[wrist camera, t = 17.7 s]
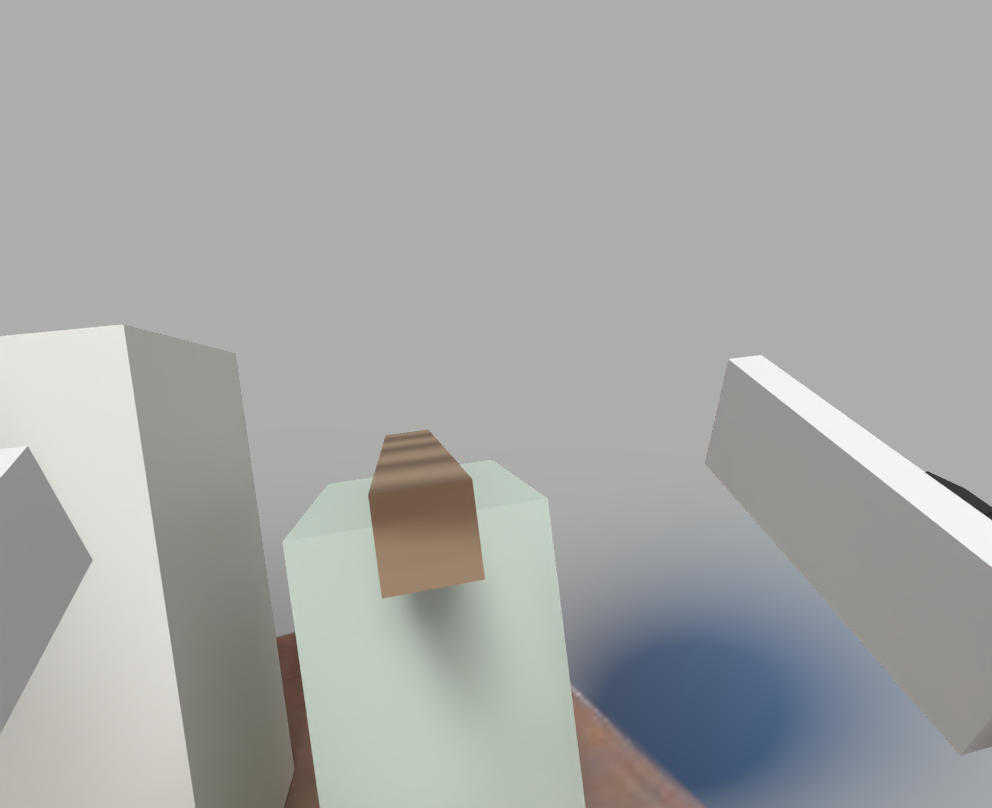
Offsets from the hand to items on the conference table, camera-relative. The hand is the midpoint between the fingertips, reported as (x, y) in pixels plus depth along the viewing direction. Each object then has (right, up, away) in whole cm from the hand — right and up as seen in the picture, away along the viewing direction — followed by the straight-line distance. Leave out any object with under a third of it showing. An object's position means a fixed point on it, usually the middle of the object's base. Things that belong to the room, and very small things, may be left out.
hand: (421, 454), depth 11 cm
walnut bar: (-2, -4, +17) cm, 17 cm away
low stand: (-1, -24, +23) cm, 33 cm away
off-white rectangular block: (-17, -26, +20) cm, 37 cm away
